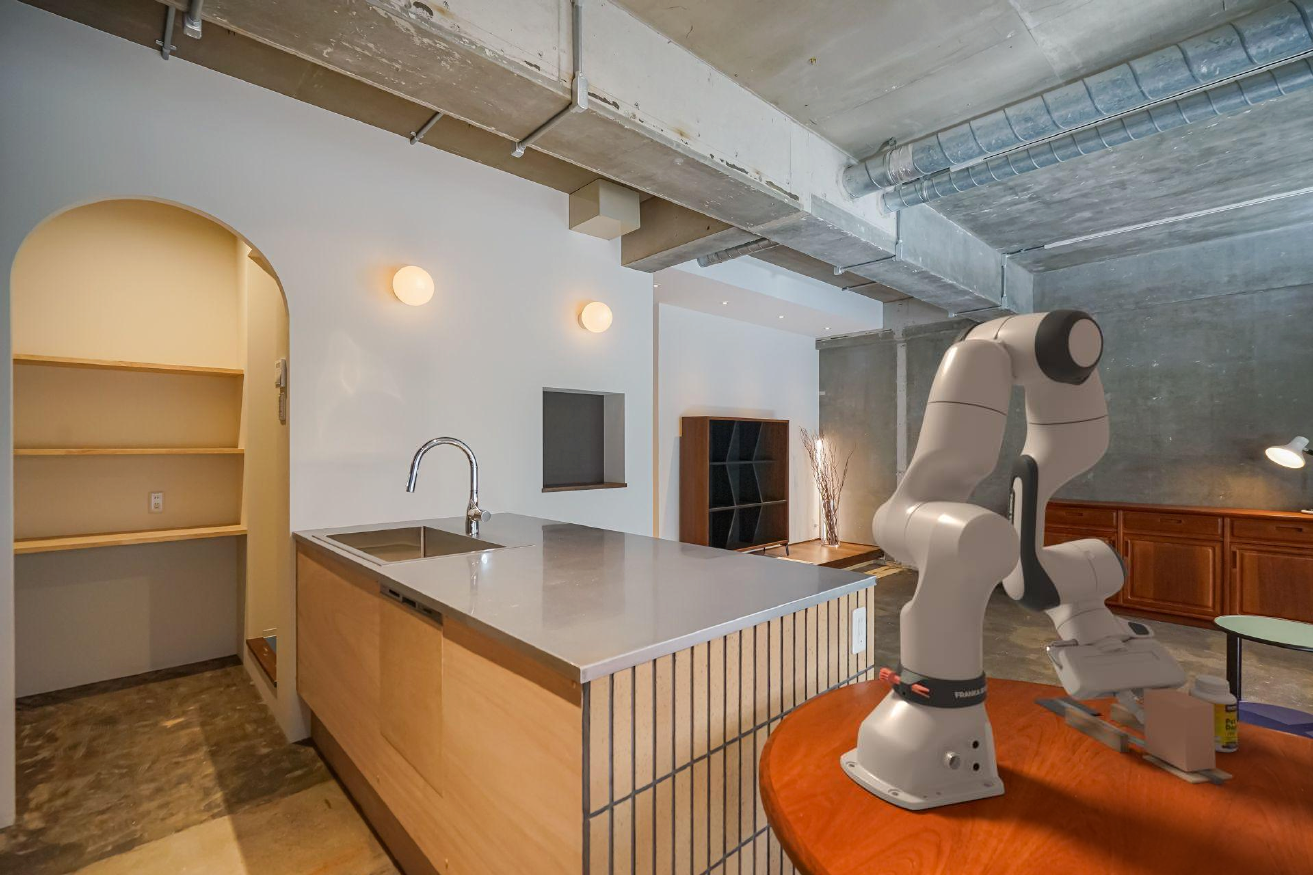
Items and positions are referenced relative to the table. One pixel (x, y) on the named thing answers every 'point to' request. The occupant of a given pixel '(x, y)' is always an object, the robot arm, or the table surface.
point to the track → (1113, 730)
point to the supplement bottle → (1219, 709)
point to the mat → (1187, 776)
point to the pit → (1061, 710)
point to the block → (1179, 729)
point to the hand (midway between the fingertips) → (1153, 722)
